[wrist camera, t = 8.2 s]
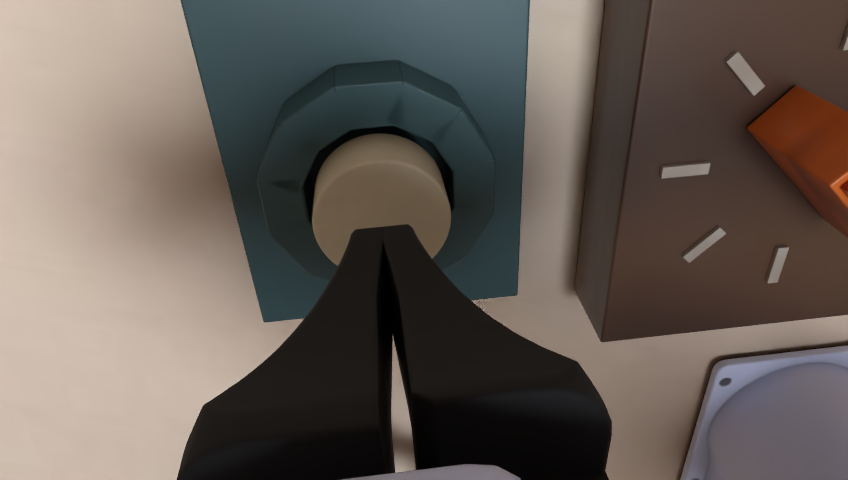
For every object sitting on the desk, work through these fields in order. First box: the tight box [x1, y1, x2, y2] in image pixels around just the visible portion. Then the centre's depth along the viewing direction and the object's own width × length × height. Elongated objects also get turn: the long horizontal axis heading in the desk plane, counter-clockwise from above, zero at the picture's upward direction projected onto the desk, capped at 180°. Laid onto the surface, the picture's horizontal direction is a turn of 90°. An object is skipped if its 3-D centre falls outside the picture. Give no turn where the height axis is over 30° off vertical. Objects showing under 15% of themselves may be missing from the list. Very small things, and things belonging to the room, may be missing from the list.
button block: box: [181, 0, 530, 322], centre depth 18 cm, size 11×9×3 cm
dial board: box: [575, 0, 848, 342], centre depth 19 cm, size 13×11×3 cm
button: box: [312, 134, 451, 266], centre depth 16 cm, size 4×4×2 cm
